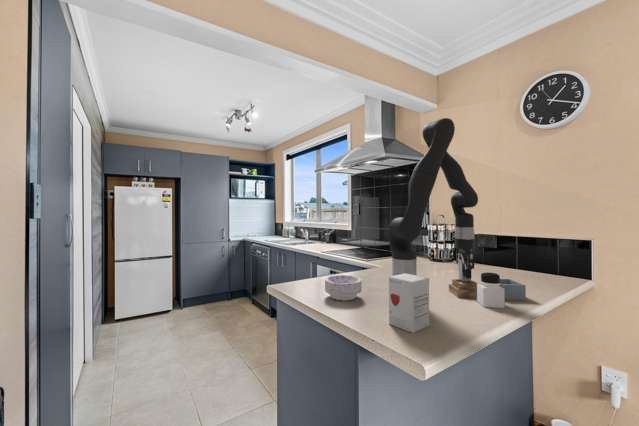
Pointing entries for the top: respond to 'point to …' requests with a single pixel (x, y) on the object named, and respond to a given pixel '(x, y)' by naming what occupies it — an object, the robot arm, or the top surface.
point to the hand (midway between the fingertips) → (464, 276)
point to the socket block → (463, 289)
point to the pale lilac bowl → (343, 287)
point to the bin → (513, 289)
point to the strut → (462, 273)
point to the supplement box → (409, 302)
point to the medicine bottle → (490, 291)
